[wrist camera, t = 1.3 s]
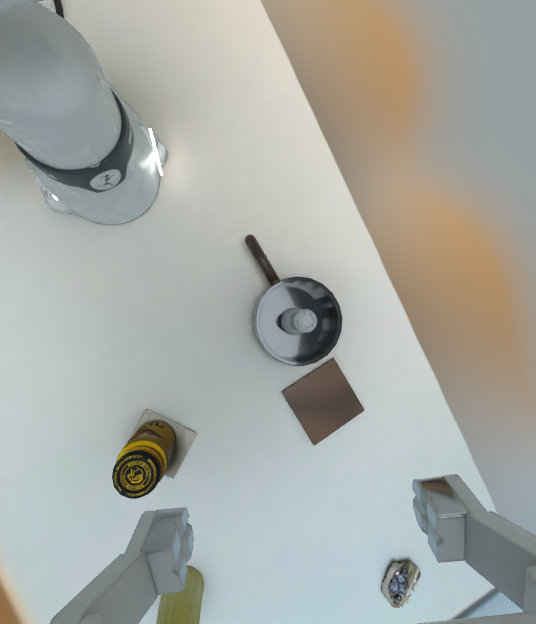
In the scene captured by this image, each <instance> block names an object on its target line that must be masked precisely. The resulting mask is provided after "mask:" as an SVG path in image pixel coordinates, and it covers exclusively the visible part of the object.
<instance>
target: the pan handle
mask: <svg viewBox="0 0 536 624" xmlns="http://www.w3.org/2000/svg"><path fill="white" fill-rule="evenodd" d="M245 243H246V244H247V246H248V248H249V249H250V251H251V253H252V254H253V256H254V258H255V259H256V261H257V263H258V265H259V266H260V268H261V270H262V271H263V273H264V275H265V276H266V278H267V280H268V281H269V283H270V285H271V286H273V285H275V284H276V283H278V282H280V279H279V277H278V276H277V274H276V272H275V271H274V269H273V267H272V266H271V264H270V262H269V261H268V259H267V257H266V255H265V254H264V252H263V250H262V249H261V247H260V245H259V244H258V242H257V240H256V239H255V237H254V236H253V235H247V236H246V238H245Z"/></svg>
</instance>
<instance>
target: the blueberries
mask: <svg viewBox="0 0 536 624" xmlns="http://www.w3.org/2000/svg"><path fill="white" fill-rule="evenodd" d="M386 576H387V577H386V579H384V580H385V581H384V582H383V583H382V591H381V592H382V593H383V594H384V597H387V599H388V601H389V602H390V603H391V606H393V607H395V608H396V607H398V608H399V607H400V606H404V605H405V604H407V603H408V600H409V599H408V598H409V597H410V596H411V595H410V590H411V589H412V590H413V591H414V589H413V588H414V586H415V585H416V586H418V585H419V584H418V583H416V582H417V581H418V578H420V571H419V568H418V567H417V566H416V565H415V564H413V565H412V562H411V561H408V562H407V563H405V561H404V562H402V563H400V564H398V563H397V562H396V563H395V562H394V564H393V563H392V567H390V569H389V571H388V573H387V575H386ZM388 581H389V582H388Z"/></svg>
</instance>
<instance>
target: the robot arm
mask: <svg viewBox="0 0 536 624" xmlns="http://www.w3.org/2000/svg"><path fill="white" fill-rule="evenodd" d="M40 1H43V0H0V130H1V131H2V132H3V133H5V134H6V135H7V136H8V137H10V138H11V139H12V140H13V141H14V142H15V144H16V145H17V147H18V148H19V149H20V151H21V152H22V153H23V154H24V155H25V156H26V158H27V159H25V162H26V164H27V166H28V167H29V169H30V170H34V171H35V173H36V177H35V179H36V181H37V182H38V183H39V184H40V186H41V188H42V191H43V194H44V196H45V199H46V202H47V204H48V205H49V207H50V208H51V209H53V210H54V211H57V212H63V213H74V214H77V215H79V216H81V217H83V218H85V219H87V220H90V221H92V222H96V223H100V224H107V225H114V224H122V223H126V222H129V221H131V220H134V219H136V218H137V217H139V216H141V215H142V214H143V213H144V212H145V211H147V209H148V208H149V207H150V206H151V205H152V203H153V202H154V200H155V198H156V196H157V193H158V189H159V182H160V174H161V175H163V173H162V169H161V168H162V167H163V165H164V163H165V161H166V159H167V151H166V149H165V147H164V146H163V144H162V143H161V142H160V141H159V140H158V139H157V138H156V136H155V135H154V134H153V133H152V130H151V128H148V127H147V126H146V125H145V124H144V123H143V122H142V121H141V119H140V118H139V117H138V116H137V115H136V114H135V113H134V111H133V110H132V109H131V108H130V107H129V106H128V105H127V104H126V102H125V101H124V100H123V99H122V98H121V97H120V96H119V95H118V93H117V92H116V91H115V90H114V89H113V88H112V87H111V85H110V84H109V83H108V82H107V80H106V78H105V75H104V73H103V71H102V69H101V67H100V64H99V62H98V60H97V58H96V56H95V53H94V52H93V50H92V48H91V46H90V45H89V44H88V42H87V41H86V40H85V38H84V37H83V36H82V35H81V34H80V33H79V32H78V31H77V30H76V29H75V28H74V27H73V26H72V25H71V24H69V23H68V22H67V21H66V20H65V19H64V17H63V10H62V6H61V2H60V0H54V3H55V7H56V13H55V12H54V11H52V10H51V9H49V8H47V7H46V6H44V5H42V4H40V3H38V2H40ZM153 147H154V148H153ZM412 489H413V491H414V493H415V495H416V496H415V498H414V499H413V508H414V512H415V516H416V519H417V522H418V524H419V526H420V528H421V530H422V531H423V532H424V533H426V534H427V535H428V544H429V546H430V548H431V550H432V551H433V553H434V555H435V557H436V559H437V561H438V563H440V562H453V561H465V560H466V563H467V564H469V565H470V566H471V567H472V568H473V569H475V570H476V571H477V572H478V573H479V574H480V575H482V576H483V577H484V578H485V579H486V580H488V581H489V582H490V583H491V584H492V585H494V586H495V587H496V588H497V589H498V590H499V591H501V592H502V593H503V594H504V595H506V596H507V597H508V598H509V599H510V600H511V601H513V602H514V603H515V604H516V605H517V606H519V607H520V608H521V609H522V610H523V612H522V613H513V614H504V615H494V616H484V617H476V618H466V619H456V620H447V621H437V622H428V623H418V624H536V535H534V534H532V533H530V532H528V531H526V530H525V529H523V528H521V527H519V526H518V525H516V524H514V523H512V522H510V521H509V520H507V519H505V518H503V517H501V516H500V515H498V514H496V513H494V512H492V511H490V512H487V510H486V509H485V508H484V507H483V505H482V504H481V503H480V502H479V500H478V499H477V498H476V497H475V495H474V494H473V493H472V492H471V490H470V489H469V488H468V487H467V485H466V484H465V483H464V481H463V480H462V479H461V478H460V476H458V475H457V474H454V475H446V476H442V477H441V476H440V477H432V478H424V479H416V480H413V483H412ZM188 518H189V514H188V510H187V508H185V507H184V508H173V509H162V510H155V511H145V512H144V513H143V514H142V515H141V518H140V520H139V522H138V524H137V527H136V529H135V531H134V533H133V536H132V538H131V540H130V542H129V545H128V547H127V549H126V551H125V554H120V555H119V556H118V557H117V558H116V559H115V560H114V561H113V562H112V563H111V564H110V565H108V566H107V567H106V568H105V569H104V570H103V571H102V572H101V573H100V574H99V575H98V576H97V577H96V578H95V579H94V580H93V581H91V582H90V583H89V584H88V585H87V586H86V587H85V588H84V589H83V590H82V591H81V592H80V593H79V594H78V595H77V596H76V597H74V598H73V599H72V600H71V601H70V602H69V603H68V604H67V605H66V606H65V607H64V608H63V609H62V610H61V611H60V612H58V613H57V614H56V615H55V616H54V617H53V619H52V620H51V622H50V624H138V623H139V622H140V621H141V619H142V618H143V616H144V615H145V614H146V612H147V611H148V609H149V608H150V607H151V605H152V604H153V602H154V601H155V600H156V598H157V597H158V596H157V595H160V594H167V593H174V592H181V591H183V589H184V585H185V581H186V577H187V572H188V569H187V564H186V563H187V561H188V560H189V559H190V558H191V555H192V550H193V530H192V526H191V525H190V524H189V523H187V522H188Z"/></svg>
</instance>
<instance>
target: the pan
mask: <svg viewBox="0 0 536 624" xmlns="http://www.w3.org/2000/svg"><path fill="white" fill-rule="evenodd" d="M294 307H297V308H301V309H303V310H304V309H308V310H311V311H312V312H314V313H315V315H316V317H317V325H316V327H315V328H314V330H312V331H311V332H307V333H305V332H304V333H302V334H300V335H291V334H288V333H287V332H285V331H284V329H283V327H282V324H281V319H282V315H283V314H284V312H285V311H286V310H288V309H289V308H294ZM253 328H254V333H255V336H256V339H257V340H258V342H259V344H260V345H261V347H262V348H263V350H265V351H266V352H267V353H268V354H269V355H270V356H272V357H273V358H275V359H276V360H279V361H281V362H283V363H286V364H288V365H297V366H305V365H308V364H312V363H316V362H318V361H319V360H321V359H322V358H324V357H325V356H327V355H328V354H329V353H330V352H331V350H332V349H333V348H334V347H335V345H336V344H337V341H338V339H339V336H340V333H341V328H342V315H341V311H340V306H339V304H338V302H337V300H336V298H335V297H334V295H333V293H332V292H331V291H330V290H329V289H327V288H326V287H325V286H324V285H323V284H322V283H319V282H317V281H315V280H313V279H311V278H304V277H293V278H288V279H283V280H281V281H280V282H278V283H276V284H275V285H273V286H271V287H270V288H269V289H267V290H266V291H265V293H264V294H263V295H262V296H261V297H260V298H259V300H258V303H257V305H256V307H255V310H254V315H253Z"/></svg>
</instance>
